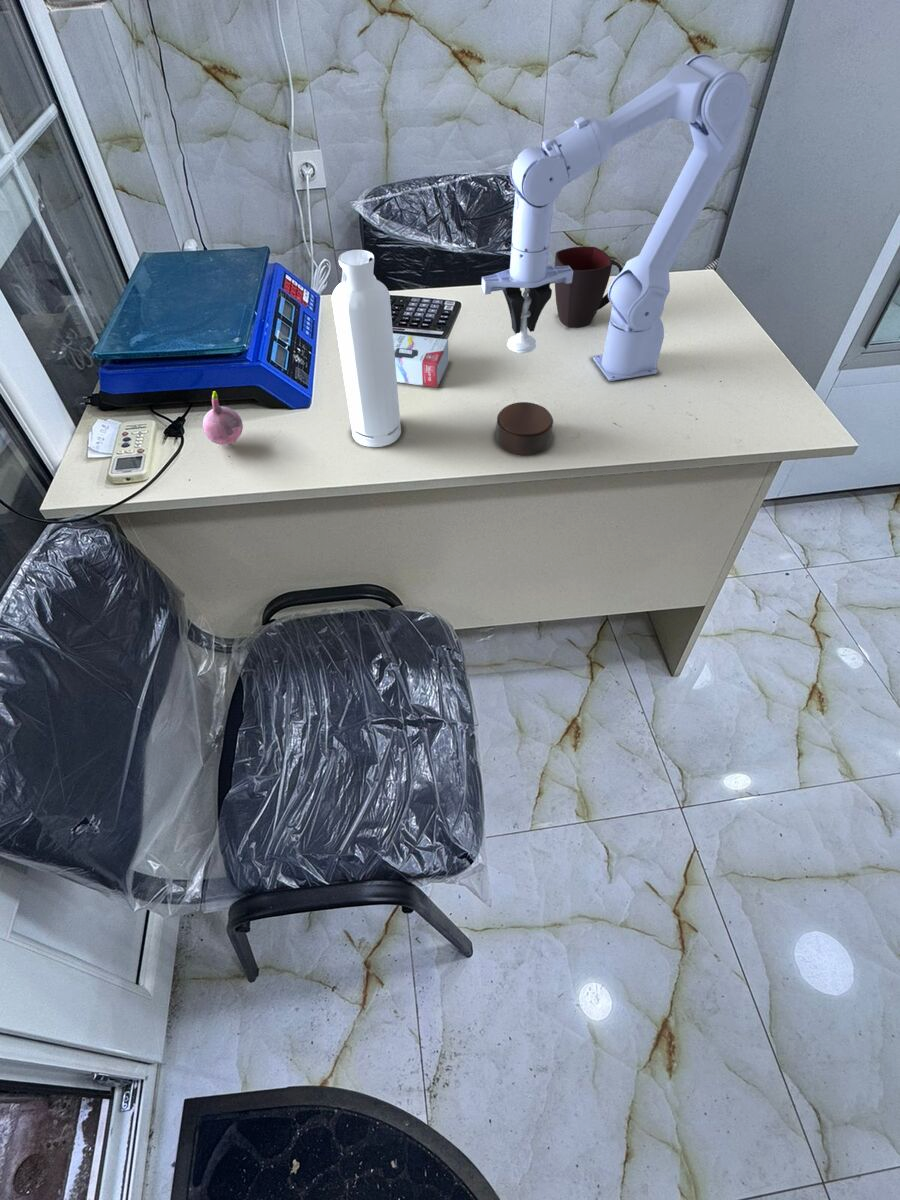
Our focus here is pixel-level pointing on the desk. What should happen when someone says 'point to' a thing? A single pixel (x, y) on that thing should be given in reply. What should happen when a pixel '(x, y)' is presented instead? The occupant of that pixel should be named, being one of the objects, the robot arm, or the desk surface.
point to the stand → (524, 428)
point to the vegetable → (222, 424)
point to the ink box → (420, 359)
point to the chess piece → (523, 331)
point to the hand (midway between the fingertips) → (523, 329)
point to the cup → (583, 284)
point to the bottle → (367, 350)
